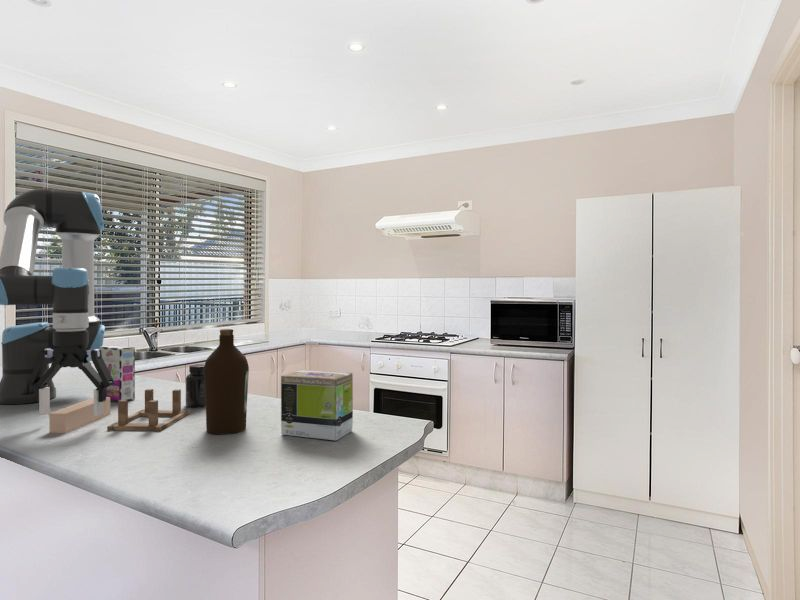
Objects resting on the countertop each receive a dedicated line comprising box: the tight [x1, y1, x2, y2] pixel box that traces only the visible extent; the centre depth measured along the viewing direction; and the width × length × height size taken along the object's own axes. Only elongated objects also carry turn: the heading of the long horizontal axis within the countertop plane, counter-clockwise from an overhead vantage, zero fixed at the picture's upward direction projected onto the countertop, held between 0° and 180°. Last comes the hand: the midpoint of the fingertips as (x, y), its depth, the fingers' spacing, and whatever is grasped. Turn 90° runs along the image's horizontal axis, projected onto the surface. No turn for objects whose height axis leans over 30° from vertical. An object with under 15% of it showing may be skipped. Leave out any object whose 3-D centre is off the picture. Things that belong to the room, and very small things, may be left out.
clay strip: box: [48, 397, 111, 434], centre depth 131 cm, size 18×4×5 cm, turn 178°
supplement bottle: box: [185, 363, 206, 409], centre depth 151 cm, size 7×7×12 cm
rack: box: [106, 388, 191, 432], centre depth 133 cm, size 17×13×7 cm
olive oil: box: [204, 328, 250, 435], centre depth 127 cm, size 11×11×25 cm
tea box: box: [280, 369, 354, 442], centre depth 125 cm, size 15×10×15 cm, turn 71°
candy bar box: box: [100, 345, 136, 403], centre depth 158 cm, size 11×5×16 cm, turn 61°
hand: (71, 414), depth 127 cm, fingers open, 13 cm apart
